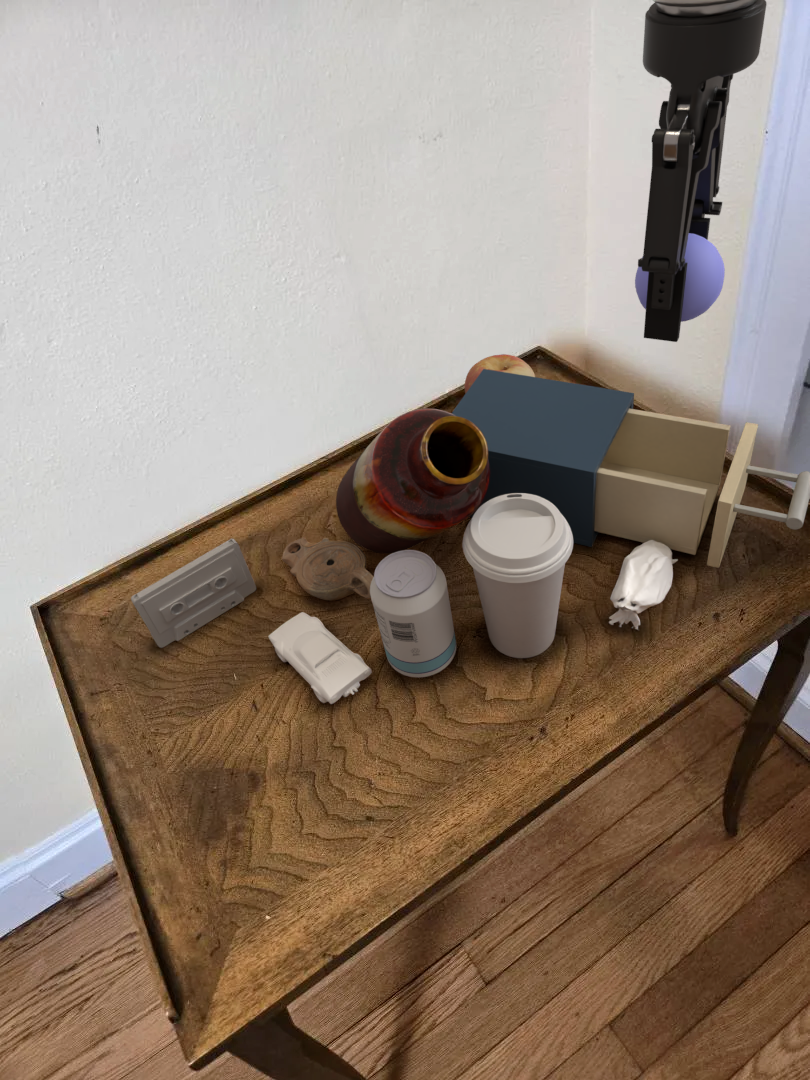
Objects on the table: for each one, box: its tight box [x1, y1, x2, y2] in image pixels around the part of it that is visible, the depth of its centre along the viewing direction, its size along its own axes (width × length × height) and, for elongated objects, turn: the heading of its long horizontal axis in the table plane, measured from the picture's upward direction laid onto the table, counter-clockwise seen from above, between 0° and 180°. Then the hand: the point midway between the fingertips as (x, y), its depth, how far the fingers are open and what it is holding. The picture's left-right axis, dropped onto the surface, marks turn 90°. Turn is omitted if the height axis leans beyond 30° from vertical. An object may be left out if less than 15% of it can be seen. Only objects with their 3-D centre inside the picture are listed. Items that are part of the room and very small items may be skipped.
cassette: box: [130, 538, 257, 649], centre depth 84 cm, size 12×2×8 cm, turn 127°
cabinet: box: [450, 369, 635, 548], centre depth 89 cm, size 18×14×11 cm
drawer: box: [594, 408, 810, 569], centre depth 83 cm, size 23×12×9 cm, turn 63°
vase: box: [335, 407, 490, 555], centre depth 78 cm, size 11×11×26 cm
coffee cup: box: [462, 493, 574, 659], centre depth 74 cm, size 10×10×15 cm
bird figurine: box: [608, 540, 679, 632], centre depth 78 cm, size 5×7×10 cm
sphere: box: [634, 233, 726, 323], centre depth 66 cm, size 7×7×7 cm
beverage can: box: [370, 549, 457, 678], centre depth 75 cm, size 7×7×12 cm
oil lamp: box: [281, 536, 374, 601], centre depth 85 cm, size 13×8×5 cm, turn 47°
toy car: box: [268, 611, 373, 705], centre depth 79 cm, size 6×12×3 cm, turn 40°
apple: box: [464, 353, 536, 395], centre depth 101 cm, size 9×9×8 cm
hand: (673, 313), depth 68 cm, fingers closed on sphere, 7 cm apart
